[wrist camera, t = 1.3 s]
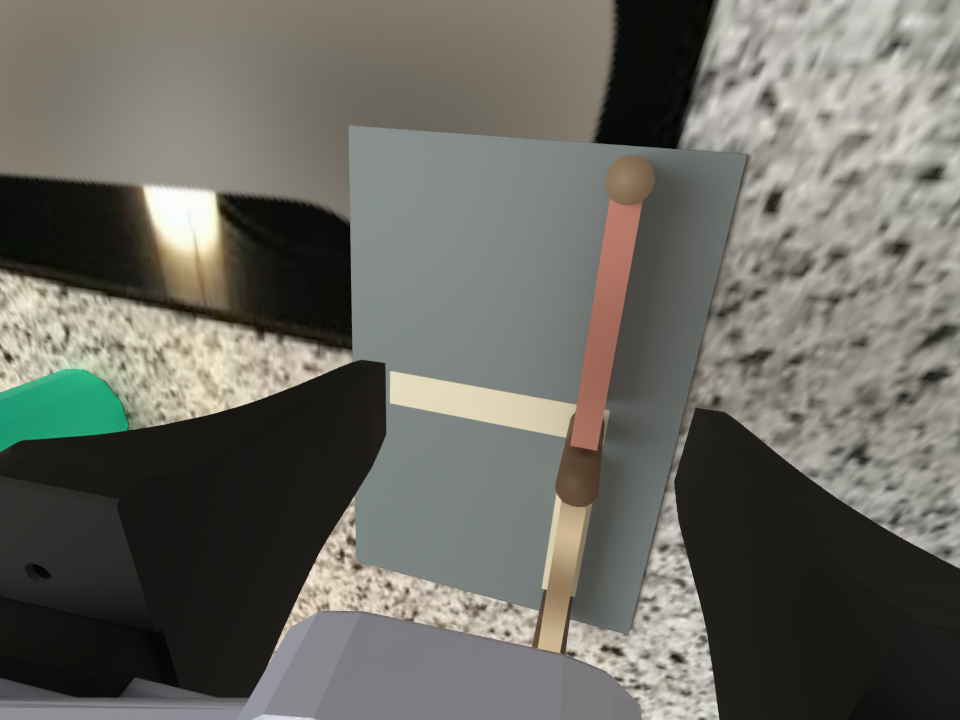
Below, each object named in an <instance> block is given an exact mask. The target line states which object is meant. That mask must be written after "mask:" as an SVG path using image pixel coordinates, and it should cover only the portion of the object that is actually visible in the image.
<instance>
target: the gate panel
mask: <svg viewBox="0 0 960 720" xmlns="http://www.w3.org/2000/svg"><path fill="white" fill-rule="evenodd" d="M654 182H655V175H654V170H653V168H652V166H651V164H650V163H649V162H648V161H647V160H646V159H644V158H642V157H640V156H637V155H628V156H624V157H621V158H620V159H618V160H616V161H615V162H614V163H613V164H612V165H611V166H610V168H609V170H608V172H607V174H606V178H605V187H606V191H607V193H608V195H609V196H610V201H609V207H608V213H607V220H606V226H605V232H604V238H603V245H602V251H601V257H600V263H599V270H598V276H597V282H596V288H595V294H594V301H593V307H592V313H591V319H590V326H589V332H588V338H587V344H586V351H585V357H584V363H583V369H582V375H581V382H580V388H579V394H578V400H577V407H576V413H575V419H574V425H573V432H572V438H571V444H570V446H575V447H580V448H585V449H590V450H595V451H597V448H598V442H599V437H600V431H601V426H602V420H603V415H604V409H605V404H606V399H607V393H608V388H609V382H610V377H611V371H612V366H613V360H614V355H615V349H616V344H617V338H618V333H619V328H620V322H621V317H622V311H623V306H624V300H625V295H626V289H627V284H628V278H629V273H630V268H631V262H632V257H633V251H634V246H635V240H636V235H637V229H638V224H639V218H640V213H641V208H642V202H643V200H644V199H645V198H647V196H648V195H649V194H650V193H651V191H652V189H653V186H654Z"/></svg>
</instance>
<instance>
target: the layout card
mask: <svg viewBox="0 0 960 720" xmlns="http://www.w3.org/2000/svg"><path fill="white" fill-rule="evenodd" d="M628 155H637V156H640V157H642V158H644V159H646V160H647V161H648V162H649V163H650V164H651V166H652V168H653V170H654V175H655V182H654V186H653V189H652V191H651V193H650V194H649V195H648V196H647V198H645V199H644V200H643V202H642V208H641V213H640V218H639V224H638V229H637V235H636V240H635V246H634V251H633V257H632V262H631V268H630V273H629V278H628V284H627V289H626V295H625V300H624V306H623V311H622V317H621V322H620V328H619V333H618V338H617V344H616V349H615V355H614V360H613V366H612V371H611V377H610V382H609V388H608V393H607V399H606V404H605V409H604V415H603V420H604V423H605V428H604V439H603V449H602V460H601V471H600V482H599V492H598V496H597V498H596V500H595V501H594V502H593V503H592V504H590V505H588V506H587V508H586V513H585V519H584V524H583V529H582V535H581V540H580V546H579V551H578V557H577V562H576V568H575V573H574V579H573V584H572V589H571V595H570V596H571V597H572V606H571V613H570V619H572V620H575V621H579V622H583V623H586V624H590V625H594V626H598V627H601V628H605V629H609V630H612V631H616V632H620V633H623V634H627V635H629V631H630V627H631V623H632V619H633V615H634V611H635V607H636V603H637V599H638V595H639V591H640V587H641V583H642V579H643V575H644V571H645V567H646V562H647V558H648V554H649V550H650V546H651V542H652V538H653V534H654V530H655V526H656V522H657V518H658V514H659V510H660V506H661V502H662V498H663V494H664V490H665V486H666V482H667V478H668V474H669V469H670V465H671V461H672V457H673V453H674V449H675V445H676V441H677V437H678V433H679V429H680V425H681V421H682V417H683V413H684V409H685V405H686V401H687V397H688V393H689V389H690V385H691V380H692V376H693V372H694V368H695V364H696V360H697V356H698V352H699V348H700V344H701V340H702V336H703V332H704V328H705V324H706V320H707V316H708V312H709V308H710V304H711V300H712V296H713V291H714V287H715V283H716V279H717V275H718V271H719V267H720V263H721V259H722V255H723V251H724V247H725V243H726V239H727V235H728V231H729V227H730V223H731V219H732V215H733V211H734V207H735V203H736V198H737V194H738V190H739V186H740V182H741V178H742V174H743V170H744V166H745V162H746V158H747V154H734V153H720V152H707V151H693V150H679V149H665V148H652V147H638V146H624V145H611V144H597V143H582V142H569V141H556V140H555V141H554V140H541V139H528V138H514V137H501V136H487V135H473V134H459V133H446V132H431V131H418V130H404V129H390V128H376V127H362V126H349V168H350V169H349V171H350V228H351V285H352V341H353V362H355V361H358V360H368V361H375V362H382V363H386V437H385V439H384V442H383V444H382V446H381V449H380V451H379V453H378V456H377V458H376V460H375V462H374V464H373V466H372V468H371V470H370V472H369V473H368V475H367V477H366V478H365V480H364V481H363V483H362V485H361V486H360V488H359V490H358V491H357V493H356V494H355V511H356V561H357V562H361V563H365V564H368V565H372V566H376V567H380V568H383V569H387V570H391V571H394V572H398V573H402V574H405V575H409V576H413V577H416V578H420V579H424V580H428V581H431V582H435V583H439V584H442V585H446V586H450V587H453V588H457V589H461V590H465V591H468V592H472V593H476V594H479V595H483V596H487V597H490V598H494V599H498V600H501V601H505V602H509V603H513V604H516V605H520V606H524V607H527V608H531V609H535V610H538V611H539V610H540V605H541V600H542V595H543V592H544V591H545V590H547V587H548V581H549V575H550V569H551V562H552V556H553V550H554V544H555V537H556V531H557V525H558V519H559V513H560V506H561V499H560V498H559V497H558V495H557V493H556V490H555V483H556V479H557V475H558V470H559V466H560V462H561V457H562V453H563V449H564V444H565V440H566V436H567V431H568V427H569V423H570V419H571V417H572V415H573V414H574V413H575V412H576V407H577V400H578V394H579V388H580V382H581V375H582V369H583V363H584V357H585V351H586V344H587V338H588V332H589V326H590V319H591V313H592V307H593V301H594V294H595V288H596V282H597V276H598V270H599V263H600V257H601V251H602V245H603V238H604V232H605V226H606V220H607V213H608V207H609V201H610V196H609V195H608V193H607V191H606V187H605V178H606V174H607V172H608V170H609V168H610V166H611V165H612V164H613V163H614V162H615V161H616V160H618V159H620V158H621V157H624V156H628Z"/></svg>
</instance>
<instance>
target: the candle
mask: <svg viewBox="0 0 960 720" xmlns="http://www.w3.org/2000/svg"><path fill="white" fill-rule="evenodd" d="M127 429H128V421H127V418H126V415H125V413H124V410H123V407H122V404H121V401H120V400H119V399H118V398H117V396H116V395H115V394H114V393H113V392H112V390H111V389H110V388H109V387H108V385H107V384H106V383H105V382H104V381H103V380H101V379H99V378H98V377H96V376H94V375H92V374H91V373H89V372H87V371H85V370H84V369H65V370H62V371H59V372H56V373H53V374H51V375H48V376H45V377H42V378H40V379H37V380H34V381H31V382H28V383H26V384H23V385H20V386H17V387H15V388H12V389H9V390H6V391H3V392H1V393H0V452H1V451H3V450H4V449H6V448H8V447H10V446H11V445H13V444H15V443H17V442H19V441H22V440H34V439H48V438H61V437H74V436H87V435H97V434H106V433H114V432H121V431H127Z"/></svg>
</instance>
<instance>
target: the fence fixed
mask: <svg viewBox="0 0 960 720" xmlns="http://www.w3.org/2000/svg"><path fill="white" fill-rule="evenodd" d="M575 413H576V412H575ZM575 413H574V414H573V415H572V417H571V419H570V423H569V427H568V431H567V436H566V440H565V444H564V449H563V453H562V457H561V462H560V466H559V470H558V475H557V479H556V483H555V490H556V493H557V495H558V497H559V498H560V499H561V506H560V513H559V519H558V525H557V531H556V537H555V544H554V550H553V556H552V562H551V569H550V575H549V581H548V587H547V590H545V591H544V592H543V595H542V600H541V605H540V610H539V615H538V620H537V625H536V630H535V635H534V640H533V645H532V647H533V648H538V649H543V650H548V651H552V652H557V653H562V654H565V652H566V644H567V636H568V629H569V621H570V613H571V606H572V597H571V596H570V595H571V589H572V584H573V579H574V573H575V568H576V562H577V557H578V551H579V546H580V540H581V535H582V529H583V524H584V519H585V513H586V508H587V506H588V505H590V504H592V503H593V502H594V501H595V500H596V498H597V496H598V492H599V482H600V471H601V460H602V449H603V439H604V428H605V423H604V420H602V426H601V431H600V437H599V442H598V448H597V451H595V450H590V449H585V448H580V447H575V446H570V444H571V438H572V432H573V425H574V419H575Z"/></svg>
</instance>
